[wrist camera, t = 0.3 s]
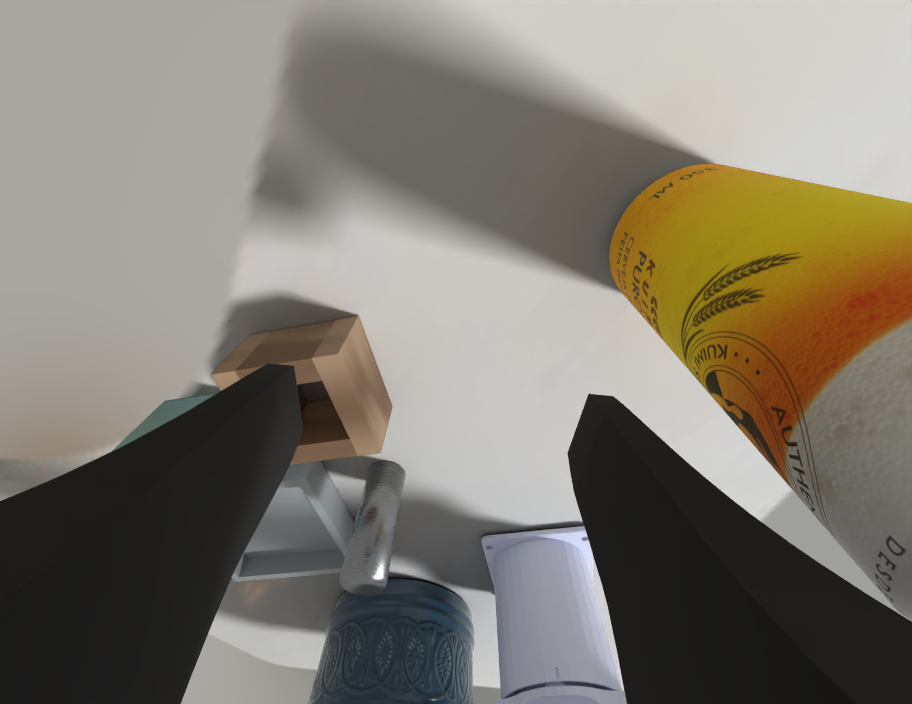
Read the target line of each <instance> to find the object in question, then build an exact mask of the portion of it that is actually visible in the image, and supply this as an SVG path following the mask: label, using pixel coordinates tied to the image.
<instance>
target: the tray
mask: <svg viewBox="0 0 912 704" xmlns="http://www.w3.org/2000/svg"><path fill="white" fill-rule="evenodd" d="M354 523H355V521H354V520H353V518H352V516H351V514H350V512H349V511H348V509H347V507H346V505H345V503H344V501H343V500H342V498H341V496H340V494H339V492H338V491H337V489H336V487H335V485H334V483H333V482H332V480H331V478H330V476H329V474H328V473H327V471H326V469H325V467H324V465H323V464H322V462H321V461H315V462H307V463H299V464H291V465H290V466H289V468H288V470H287V472H286V474H285V476H284V478H283V480H282V482H281V484H280V486H279V487H278V489H277V491H276V493H275V495H274V497H273V499H272V501H271V503H270V504H269V506H268V508H267V510H266V512H265V514H264V516H263V517H262V519H261V521H260V523H259V525H258V527H257V529H256V530H255V532H254V534H253V536H252V538H251V540H250V542H249V544H248V545H247V547H246V549H245V551H244V553H243V555H242V557H241V559H240V561H239V563H238V565H237V567H236V569H235V571H234V573H233V575H232V577H231V578H232V579H233V580H234V581H235V582H243V581H254V580H265V579H277V578H288V577H299V576H310V575H322V574H333V573H341V571H342V567H343V563H344V560H345V556H346V552H347V549H348V545H349V541H350V538H351V534H352V531H353V527H354Z"/></svg>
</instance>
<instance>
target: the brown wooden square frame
mask: <svg viewBox="0 0 912 704" xmlns="http://www.w3.org/2000/svg"><path fill="white" fill-rule="evenodd" d="M268 363H270V364H281V365H291V366H294V369H295V375H296V382H297V389H298V396H299V402H300V409H301V416H302V422H303V432H302V435H301V437H300V440H299V443H298V446H297V449H296V451H295V454H294V456H293V459H292V461H291V464H299V463H307V462H315V461H323V460H330V459H338V458H346V457H354V456H361V455H369V454H377V453H381V450H382V446H383V442H384V438H385V434H386V430H387V426H388V422H389V418H390V414H391V410H392V404H391V401H390V399H389V396H388V393H387V391H386V388H385V385H384V383H383V380H382V377H381V375H380V372H379V369H378V367H377V364H376V361H375V358H374V356H373V353H372V350H371V348H370V345H369V342H368V340H367V337H366V334H365V332H364V329H363V326H362V324H361V321H360V318H359V316H353V317H348V318H342V319H336V320H331V321H325V322H319V323H314V324H308V325H303V326H297V327H291V328H286V329H280V330H274V331H269V332H263V333H257V334H252V335H249V336H248V337H247V338H246V339H245V340H244V341H243V342H242V343H241V344H240V345H239V346H238V347H237V348H236V349H235V350H234V351H233V352H232V353H231V354H230V355H229V356H228V357H227V358H226V359H225V360H224V361H223V362H222V363H221V364H220V365H219V366H218V367H217V368H216V369H215V370H214V372H213V373H212V374H211V375H210V376H211V377H212V379H213V380H214V382H215V383H216V385H217V386H218V388H219V389H220V391H222V390H224V389H225V388H227V387H229V386H230V385H232V384H233V383H235V382H237V381H238V380H240V379H242V378H243V377H245V376H247V375H248V374H250V373H252V372H254V371H255V370H257V369H259V368H261V367H263V366H265V365H266V364H268ZM317 381H323V384H324V386H325V388H326V390H327V392H328V394H329V396H330V398H331V399H325V400H319V401H312V402H307V400H306V398H305V396H304V394H303V393H302V391H301V389H300V387H299V385H298V384H304V383H310V382H317ZM291 464H290V465H291Z"/></svg>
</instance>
